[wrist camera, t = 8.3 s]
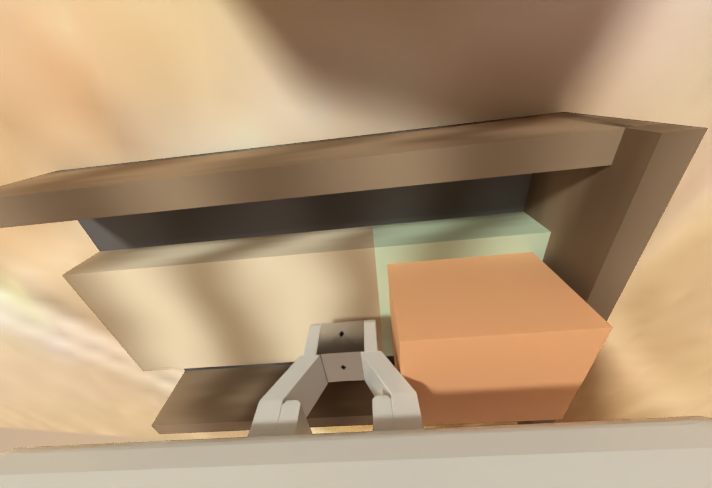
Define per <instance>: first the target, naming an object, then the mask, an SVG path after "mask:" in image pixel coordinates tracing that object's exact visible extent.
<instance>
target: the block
mask: <svg viewBox="0 0 712 488" xmlns="http://www.w3.org/2000/svg"><path fill="white" fill-rule="evenodd" d="M387 269H388V285H389V301H390V318H391V334H392V346H393V354H394V361H395V368H396V369H397V370H398V371H399V372H400V374H401V375H402V376H403V377H404V378H405V380H406V381H407V382H408V383H409V384H410V386H411V387H412V388H413V389H414V390H415V391H416V393H417V398H418V403H419V408H420V413H421V418H422V424H423V426H424V425H447V424H469V423H491V422H514V421H536V420H559V419H563V417H564V415H565V413H566V412H567V410H568V408H569V406H570V404H571V402H572V401H573V399H574V397H575V395H576V393H577V392H578V390H579V388H580V386H581V384H582V382H583V381H584V379H585V377H586V375H587V373H588V372H589V370H590V368H591V366H592V364H593V362H594V361H595V359H596V357H597V355H598V353H599V352H600V350H601V348H602V346H603V344H604V342H605V341H606V339H607V337H608V335H609V333H610V332H611V330H612V328H613V327H612V326H611V325H610V324H609V323H608V322H606V321H605V320H604V319H603V318H602V317H601V316H600V315H599V314H598V313H597V312H596V311H595V310H594V309H593V308H592V307H591V306H589V305H588V304H587V303H586V302H585V301H584V300H583V299H582V298H581V297H580V296H579V295H578V294H577V293H576V292H575V291H574V290H572V289H571V288H570V287H569V286H568V285H567V284H566V283H565V282H564V281H563V280H562V279H561V278H560V277H559V276H558V275H557V274H555V273H554V272H553V271H552V270H551V269H550V268H549V267H548V266H547V265H546V264H545V263H544V262H543V261H542V260H541V259H539V258H538V257H537V256H536V255H535V254H534V253H533V252H525V253H513V254H502V255H490V256H478V257H466V258H454V259H442V260H430V261H419V262H407V263H395V264H387Z"/></svg>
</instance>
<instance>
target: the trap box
mask: <svg viewBox="0 0 712 488" xmlns="http://www.w3.org/2000/svg"><path fill="white" fill-rule="evenodd" d="M707 129H708V128H702V127H693V126H684V125H675V124H667V123H658V122H649V121H640V120H631V119H622V118H613V117H605V116H596V115H587V114H578V113H569V112H560V113H551V114H543V115H534V116H525V117H517V118H508V119H500V120H491V121H482V122H474V123H465V124H457V125H448V126H440V127H431V128H422V129H414V130H405V131H397V132H388V133H379V134H371V135H362V136H354V137H345V138H337V139H328V140H319V141H311V142H302V143H294V144H285V145H276V146H268V147H259V148H251V149H242V150H233V151H225V152H216V153H208V154H199V155H191V156H182V157H173V158H165V159H156V160H148V161H139V162H130V163H122V164H113V165H105V166H96V167H88V168H79V169H70V170H62V171H55V172H51V173H48V174H44V175H40V176H37V177H33V178H29V179H25V180H22V181H18V182H14V183H11V184H7V185H3V186H0V228H4V227H14V226H24V225H33V224H43V223H53V222H63V221H72V220H78V221H79V223H80V224H81V226H82V227H83V228H84V230H85V231H86V233H87V234H88V235H89V237H90V238H91V240H92V241H93V242H94V244H95V245H96V247H97V248H98V249H99V251H100V252H98V253H97V254H95V255H94V256H92V257H90V258H89V259H87V260H86V261H84V262H82V263H81V264H79V265H78V266H76V267H74V268H73V269H71V270H70V271H68V272H66V273H65V274H63V275H62V276H63V277H64V278H65V279H66V281H67V282H68V283H69V284H70V285H71V287H72V288H73V289H74V290H75V291H76V292H77V294H78V295H79V296H80V297H81V298H82V300H83V301H84V302H85V303H86V304H87V305H88V307H89V308H90V309H91V310H92V311H93V313H94V314H95V315H96V316H97V317H98V318H99V320H100V321H101V322H102V323H103V324H104V326H105V327H106V328H107V329H108V330H109V331H110V333H111V334H112V335H113V336H114V337H115V339H116V340H117V341H118V342H119V343H120V344H121V346H122V347H123V348H124V349H125V350H126V352H127V353H128V354H129V355H130V356H131V357H132V359H133V360H134V361H135V362H136V363H137V365H138V366H139V367H140V368H141V369H142V370H143V371H153V370H170V369H184V370H185V372H184V374H183V375H182V377H181V379H180V380H179V382H178V384H177V385H176V387H175V388H174V390H173V392H172V393H171V395H170V396H169V398H168V400H167V401H166V403H165V405H164V406H163V408H162V409H161V411H160V413H159V414H158V416H157V418H156V419H155V421H154V422H153V424H152V427H153V428H154V429H155V430H156V431H157V432H158V433H159V434H173V433H195V432H218V431H240V430H250V428H251V425H252V422H253V419H254V416H255V413H256V410H257V406H258V403H259V401H260V400H261V398H262V397H263V396H264V395H265V394H266V393H267V392H268V391H269V390H270V389H271V387H272V386H273V385H274V384H275V383H276V382H277V381H278V380H279V379H280V378H281V376H282V375H283V374H284V373H285V372H286V371H287V370H288V369H289V368H290V366H291V365H292V364H293V363H294V362H295V361H296V360H297V359H298V358H299V357H300V356H303V355H304V350H305V345H306V340H307V335H308V331H309V327H310V325H311V324H320V323H338V322H349V321H361V320H374V319H375V320H376V329H377V339H378V349H379V351H382V352H383V353H384V355H385V356H386V357H387V358H388V359H389V360H390V362H391V363H392V364H393V365H394V366H395V361H394V354H393V346H392V334H391V318H390V301H389V285H388V269H387V264H395V263H407V262H419V261H430V260H442V259H454V258H466V257H478V256H490V255H502V254H513V253H525V252H533V253H534V254H535V255H536V256H537V257H538V258H539V259H541V260H542V261H543V262H544V263H545V264H546V265H547V266H548V267H549V268H550V269H551V270H552V271H553V272H554V273H555V274H557V275H558V276H559V277H560V278H561V279H562V280H563V281H564V282H565V283H566V284H567V285H568V286H569V287H570V288H571V289H572V290H574V291H575V292H576V293H577V294H578V295H579V296H580V297H581V298H582V299H583V300H584V301H585V302H586V303H587V304H588V305H589V306H591V307H592V308H593V309H594V310H595V311H596V312H597V313H598V314H599V315H600V316H601V317H602V318H603V319H604V320H605V321H607V319H608V318H609V316H610V314H611V312H612V310H613V308H614V306H615V304H616V302H617V300H618V298H619V297H620V295H621V293H622V291H623V289H624V287H625V285H626V283H627V281H628V279H629V277H630V276H631V274H632V272H633V270H634V268H635V266H636V264H637V262H638V260H639V258H640V256H641V255H642V253H643V251H644V249H645V247H646V245H647V243H648V241H649V239H650V237H651V235H652V234H653V232H654V230H655V228H656V226H657V224H658V222H659V220H660V218H661V216H662V214H663V213H664V211H665V209H666V207H667V205H668V203H669V201H670V199H671V197H672V195H673V194H674V192H675V190H676V188H677V186H678V184H679V182H680V180H681V178H682V176H683V174H684V173H685V171H686V169H687V167H688V165H689V163H690V161H691V159H692V157H693V155H694V153H695V152H696V150H697V148H698V146H699V144H700V142H701V140H702V138H703V136H704V134H705V132H706V131H707ZM327 383H328V384H327V386H326V387H325V389H324V391H323V392H322V394H321V395H320V397H319V398H318V400H317V402H316V403H315V405H314V406H313V408H312V410H311V411H310V413H309V414H308V416H307V418H306V419H307V421H308V424H309V427H329V426H352V425H373V406H372V399H373V398H374V395H373V393H372V392H371V390H370V388H369V387H368V385H367V384H366V382H365V380H356V381H338V382H327ZM554 421H555V420H536V421H517V422H518V424H519V425H520V424H541V423H553V422H554Z"/></svg>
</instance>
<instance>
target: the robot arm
mask: <svg viewBox="0 0 712 488" xmlns="http://www.w3.org/2000/svg"><path fill="white" fill-rule="evenodd" d="M356 380H365V382H366V384H367V385H368V387H369V388H370V390H371V392H372V393H373V395H374V398H373V399H372V406H373V431H368V432H345V433H323V434H312V432H311V429H310V427H309V424H308V421H307V419H306V418H307V416H308V414H309V413H310V411H311V410H312V408H313V406H314V405H315V403H316V402H317V400H318V398H319V397H320V395H321V394H322V392H323V391H324V389H325V387H326V386H327V384H328V383H327V382H338V381H356ZM0 488H712V418H708V417H702V416H686V417H668V418H647V419H626V420H604V421H583V422H562V423H541V424H520V425H498V426H477V427H455V428H433V429H423V424H422V418H421V413H420V408H419V403H418V398H417V393H416V391H415V390H414V389H413V388H412V387H411V386H410V384H409V383H408V382H407V381H406V380H405V378H404V377H403V376H402V375H401V374H400V372H399V371H398V370H397V369H396V368H395V366H394V365H393V364H392V363H391V362H390V360H389V359H388V358H387V357H386V356H385V355H384V353H383V352H382V351H379V349H378V339H377V329H376V320H375V319H374V320H361V321H349V322H338V323H320V324H311V325H310V327H309V331H308V335H307V340H306V345H305V350H304V355H303V356H300V357H299V358H298V359H297V360H296V361H295V362H294V363H293V364H292V365H291V366H290V368H289V369H288V370H287V371H286V372H285V373H284V374H283V375H282V376H281V378H280V379H279V380H278V381H277V382H276V383H275V384H274V385H273V386H272V387H271V389H270V390H269V391H268V392H267V393H266V394H265V395H264V396H263V397H262V398H261V400H260V401H259V403H258V406H257V410H256V413H255V416H254V419H253V422H252V425H251V428H250V431H249V434H248V437H237V438H215V439H193V440H172V441H150V442H129V443H107V444H85V445H63V446H41V447H22V448H14V449H11V450H7V451H5V452H3V453H1V454H0Z"/></svg>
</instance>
